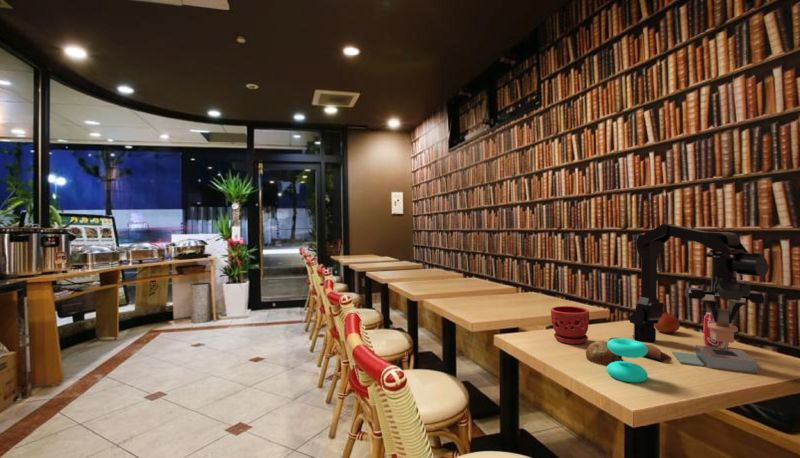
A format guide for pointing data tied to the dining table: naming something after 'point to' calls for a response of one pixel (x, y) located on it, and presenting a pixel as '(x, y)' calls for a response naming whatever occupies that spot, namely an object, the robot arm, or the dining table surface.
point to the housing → (726, 359)
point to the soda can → (707, 333)
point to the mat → (687, 359)
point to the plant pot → (570, 324)
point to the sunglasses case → (655, 353)
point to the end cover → (722, 327)
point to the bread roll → (601, 353)
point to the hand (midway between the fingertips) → (722, 322)
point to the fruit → (667, 324)
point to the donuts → (627, 369)
